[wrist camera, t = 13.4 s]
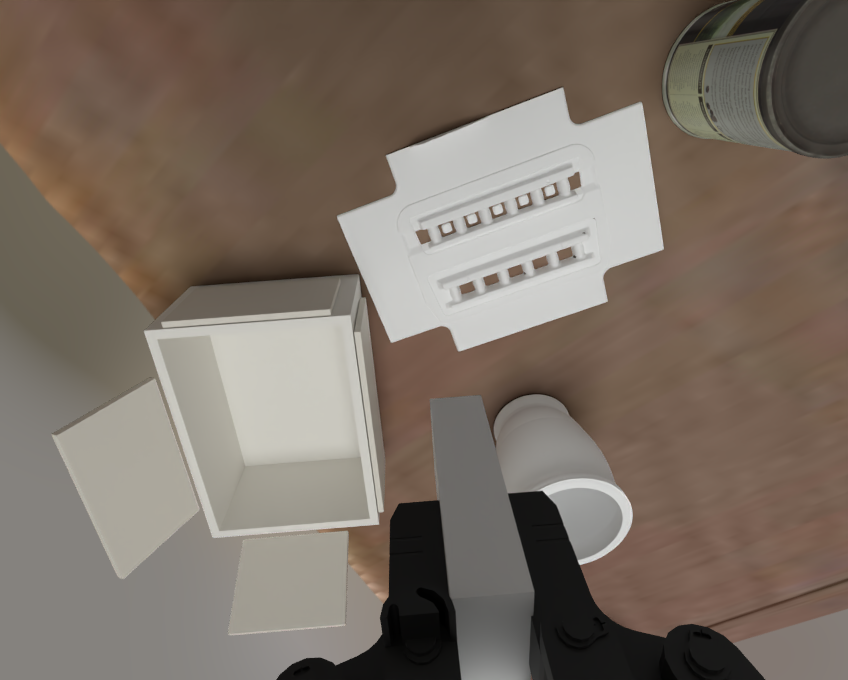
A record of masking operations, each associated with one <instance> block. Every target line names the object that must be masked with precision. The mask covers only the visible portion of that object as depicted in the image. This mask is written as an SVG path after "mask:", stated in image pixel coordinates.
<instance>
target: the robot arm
mask: <svg viewBox="0 0 848 680" xmlns="http://www.w3.org/2000/svg"><path fill="white" fill-rule="evenodd" d="M430 409H431V423H432V438H433V453H434V467H435V479H436V490H437V501H424V502H412V503H400V504H398V506H397V508H396V510H395V512H394V514H393V516H392V518H391V520H390V560H389V597H388V598H387V600H386V601H385V603H384V604H383V608H382V612H381V616H380V620H381V627H382V635H381V637H380V638H379V640H378V641H377V642H376V643H375V644H374V645H373V646H372V647H371V648H370V649H369V650H367V651H366V652H364V653H362V654H360V655H359V656H357V657H354V658H352V659H350V660H347V661H345V662H343V663H340V664H338V665H336V666H335V665H334V663H332V662H330V661H327V660H325V659H323V658H306V659H303V660H301V661H299V662H296V663H294V664H292V665H291V666H289V667H288V668H287V669H286V670H285V671H284V672H282V673H281V674H280V675H279V677H278V678H277V680H530V679H531V675H532V679H533V680H765V679H764V678H763V676H762V675H761V674H760V673H759V672H758V671H757V670H756V668H755V667H754V666H753V665H752V664H751V663H750V662H749V660H748V659H747V658H746V657H745V656H744V655H743V654H742V652H741V651H740V650H739V649H738V648H737V647H736V646H735V645H734V644H733V643H731V642H730V641H729V640H728V639H727V638H726V637H725V636H723V635H721V634H719V633H718V632H716V631H714V630H712V629H710V628H708V627H703V626H699V625H694V624H688V625H680V626H677V627H676V628H674V629H673V630H671V631H670V632H668V635H667V637H666V638H664V637H660V636H655V635H651V634H646V633H642V632H638V631H634V630H631V629H628V628H625V627H623V626H621V625H619V624H617V623H615V622H614V621H612V620H611V619H610V618H608V617H607V616H606V615H605V614H604V613H603V612H602V611H601V610H600V609H599V608H598V606H597V605H596V604H595V602H594V600H593V598H592V596H591V594H590V591H589V589H588V586H587V583H586V581H585V578H584V576H583V573H582V570H581V568H580V565H579V563H578V560H577V557H576V555H575V552H574V549H573V547H572V544H571V542H570V541H569V536H568V534H567V531H566V529H565V527H564V525H563V521H562V518H561V515H560V513H559V510H558V508H557V505H556V504H555V503H554V502H553V501H552V500H551V499H550V498H549V497H548V496H547V495H546V494H545V493H544V492H543V491H532V492H520V493H507V489H506V485H505V482H504V478H503V474H502V471H501V467H500V463H499V460H498V456H497V452H496V449H495V445H494V441H493V438H492V434H491V430H490V427H489V423H488V419H487V416H486V412H485V408H484V405H483V401H482V397H481V395H475V396H463V397H450V398H437V399H430Z"/></svg>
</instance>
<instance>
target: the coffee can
mask: <svg viewBox="0 0 848 680" xmlns="http://www.w3.org/2000/svg"><path fill="white" fill-rule="evenodd" d="M662 95H663V102H664V105H665V107H666V110H667V113H668V115H669V117H670V118H671V120H672V121H673V122H674V123H675V124H676V125H677V126H678V127H679V128H680V129H681V130H682V131H684V132H686V133H687V134H689V135H691V136H695V137H698V138H704V139H717V140H724V141H730V142H736V143H741V144H748V145H754V146H761V147H767V148H773V149H780V150H786V151H792V152H795V153H797V154H800V155H804V156H808V157H813V158H837V157H842V156H846V155H848V0H735V1H729V2H724V3H721V4H718V5H716V6H713V7H712V8H710V9H708V10H706V11H705V12H703V13H702V14H700V15H699V16H697V17H696V18H695V19H694V20H693V21H692V22H691V23H690V24H689V25H688V26H687V27H686V28H685V29H684V30H683V32H682V33H681V34H680V36H679V37H678V38H677V40H676V42H675V43H674V45H673V47H672V49H671V51H670V53H669V55H668V58H667V61H666V64H665V68H664V72H663V79H662Z"/></svg>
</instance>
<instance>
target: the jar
mask: <svg viewBox="0 0 848 680" xmlns="http://www.w3.org/2000/svg"><path fill="white" fill-rule="evenodd" d="M494 436H495V439H496V441H497V443H496V452H497V456H498V460H499V463H500V467H501V471H502V474H503V478H504V482H505V485H506V489H507V493H520V492H532V491H543V492H544V493H545V494H546V495H547V496H548V497H549V498H550V499H551V500H552V501H553V502H554V503H555V504H556V505H557V508H558V510H559V513H560V515H561V518H562V521H563V525H564V527H565V529H566V531H567V534H568V536H569V541H570V542H571V544H572V547H573V549H574V552H575V555H576V557H577V560H578V563H579V565H582V564H585V563H589V562H591V561H594V560H596V559H598V558H600V557H602V556H604V555H606V554H607V553H609V552H610V551H612V550H613V549H614V548H615V547H617V546H618V545H619V544H620V543H621V541H622V540H623V539H624V538H625V536H626V535H627V533H628V531H629V529H630V526H631V523H632V517H633V513H632V507H631V504H630V502H629V500H628V498H627V497H626V495H625V493H624V492H623V491H622V489H621V488H620V487H619V486H618V485H616V484H615V481H614V478H613V475H612V472H611V469H610V467H609V465H608V463H607V461H606V459H605V457H604V455H603V453H602V452H601V450H600V449H599V447H598V446H597V445H596V443H595V442H594V441H593V440H592V438H591V437H590V436H589V435H588V434H587V433H586V432H585V431H584V430H583V429H582V427H581V426H580V425H579V424H578V423H577V422H576V421H575V420H574V419H573V418H571V417H570V416H569V413H568V411H567V409H566V408H565V406H564V405H563V404H562V403H561V402H560V401H558V400H557V399H555V398H553V397H550V396H547V395H541V394H532V395H526V396H522V397H519V398H517V399H515V400H513V401H511V402H510V403H508V404H507V405H506V406H505V407H504V408H503V409H502V410H501V411H500V412H499V414H498V415H497V417H496V420H495V423H494Z"/></svg>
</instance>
